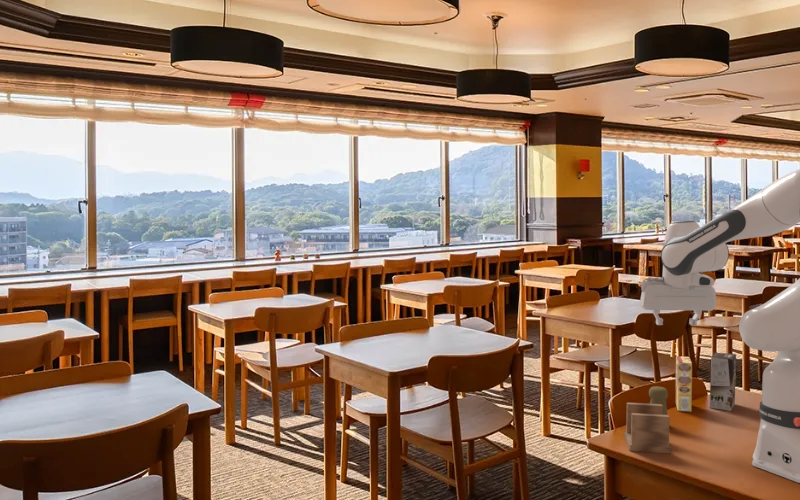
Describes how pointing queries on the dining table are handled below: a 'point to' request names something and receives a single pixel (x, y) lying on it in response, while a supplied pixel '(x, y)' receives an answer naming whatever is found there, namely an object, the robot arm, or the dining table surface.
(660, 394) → the cork
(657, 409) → the caddy
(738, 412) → the dining table surface
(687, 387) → the candy box
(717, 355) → the coffee box
